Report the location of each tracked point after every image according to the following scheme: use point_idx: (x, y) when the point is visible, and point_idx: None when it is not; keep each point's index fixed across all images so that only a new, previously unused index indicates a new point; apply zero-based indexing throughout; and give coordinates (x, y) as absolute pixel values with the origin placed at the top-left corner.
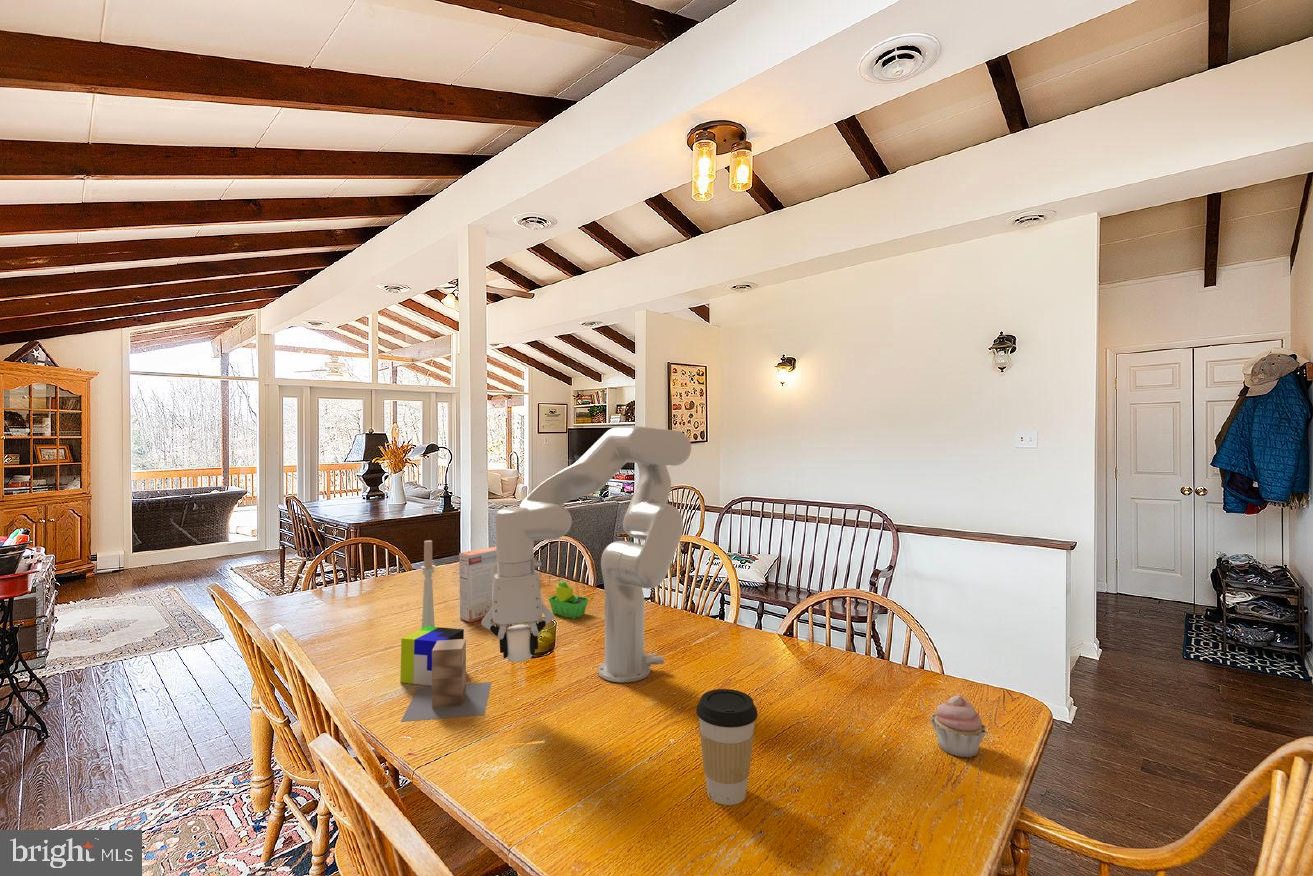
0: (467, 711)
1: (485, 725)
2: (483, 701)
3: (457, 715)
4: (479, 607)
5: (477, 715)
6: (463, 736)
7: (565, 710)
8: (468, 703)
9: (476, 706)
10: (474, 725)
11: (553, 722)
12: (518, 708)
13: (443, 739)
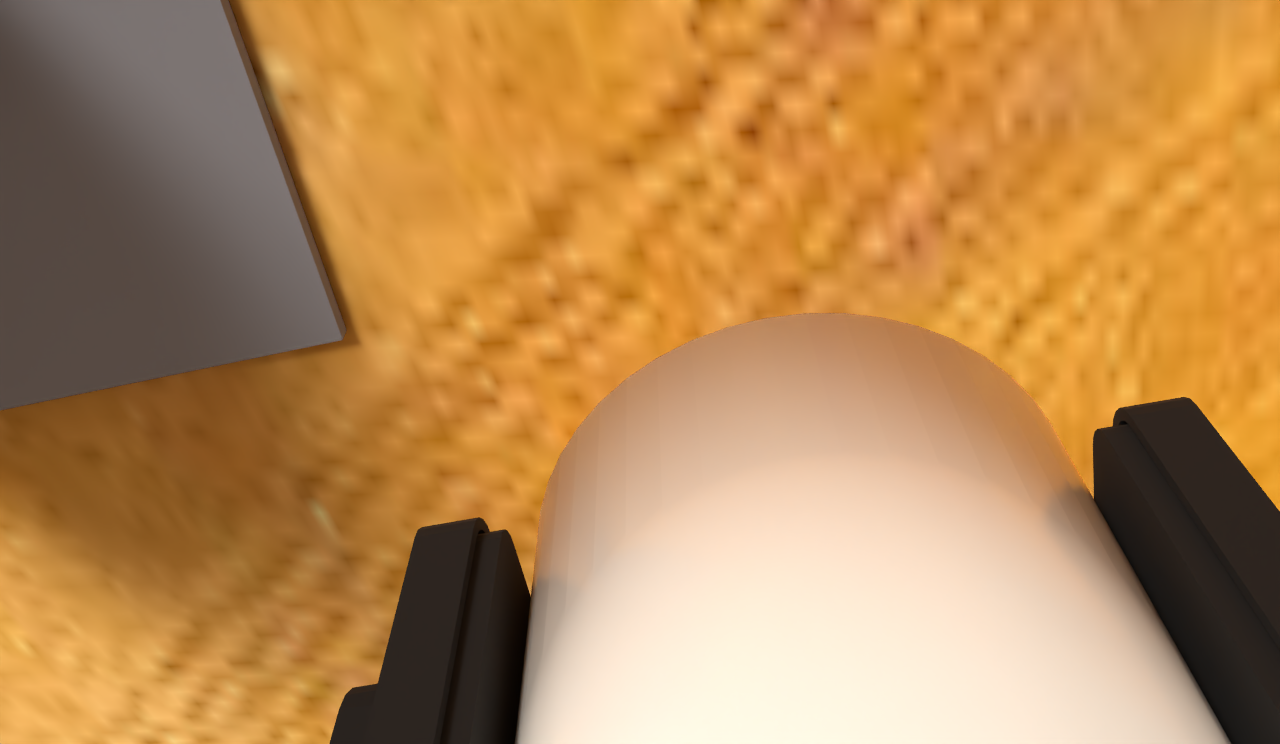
0: (112, 278)
1: (433, 480)
2: (172, 5)
3: (50, 366)
4: None
5: (274, 353)
6: (314, 650)
7: (1238, 145)
8: (3, 74)
9: (152, 148)
10: (323, 484)
11: (1102, 398)
12: (675, 117)
13: (164, 697)
